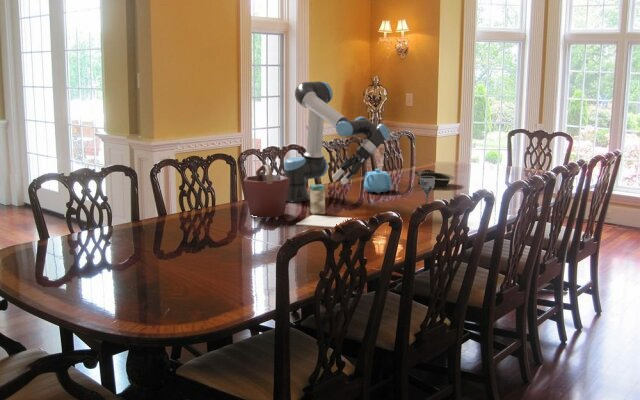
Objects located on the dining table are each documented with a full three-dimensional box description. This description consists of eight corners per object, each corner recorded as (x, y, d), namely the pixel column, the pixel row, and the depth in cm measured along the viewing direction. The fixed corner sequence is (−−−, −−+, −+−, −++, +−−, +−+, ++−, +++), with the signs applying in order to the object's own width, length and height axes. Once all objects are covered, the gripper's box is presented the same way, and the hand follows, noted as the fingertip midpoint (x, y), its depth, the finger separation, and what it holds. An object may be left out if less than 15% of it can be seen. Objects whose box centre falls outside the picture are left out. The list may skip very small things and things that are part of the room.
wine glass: (434, 206, 356) (434, 178, 354) (418, 206, 358) (419, 178, 355) (434, 204, 364) (435, 176, 361) (419, 203, 366) (420, 175, 363)
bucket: (248, 210, 354) (246, 162, 349) (290, 209, 354) (290, 161, 349) (243, 220, 330) (241, 168, 325) (289, 219, 330) (288, 168, 325)
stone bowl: (407, 183, 428) (408, 169, 426) (444, 184, 434) (445, 170, 432) (422, 189, 404) (424, 174, 402) (461, 190, 410) (463, 175, 409)
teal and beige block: (313, 214, 341) (313, 186, 339) (310, 212, 347) (310, 184, 344) (325, 213, 343) (324, 186, 340) (321, 211, 349) (321, 184, 346)
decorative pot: (364, 189, 411) (364, 166, 409) (391, 189, 409) (391, 166, 407) (363, 194, 395) (363, 171, 393) (391, 194, 393) (391, 171, 391)
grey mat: (296, 224, 319) (296, 223, 319) (311, 215, 338) (311, 215, 338) (344, 228, 311) (344, 227, 311) (358, 219, 329) (358, 218, 329)
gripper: (379, 158, 336) (350, 189, 334) (362, 152, 359) (335, 182, 358) (369, 147, 333) (340, 179, 332) (352, 142, 357) (325, 172, 355)
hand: (337, 181), depth 345 cm, fingers open, 13 cm apart
